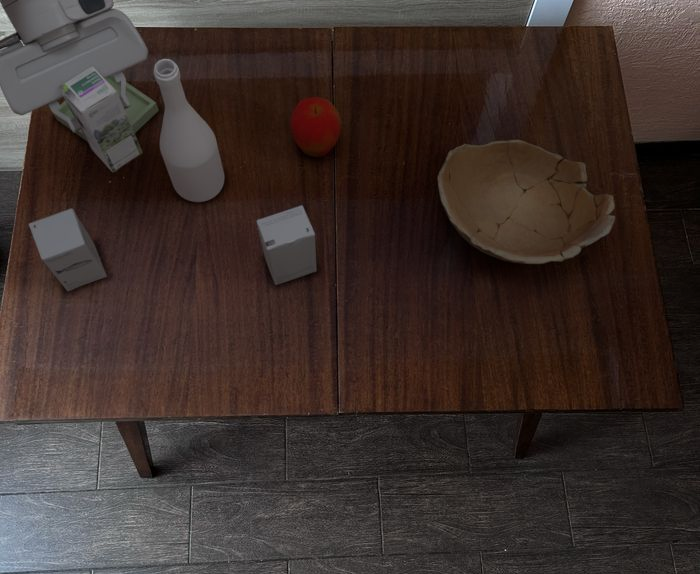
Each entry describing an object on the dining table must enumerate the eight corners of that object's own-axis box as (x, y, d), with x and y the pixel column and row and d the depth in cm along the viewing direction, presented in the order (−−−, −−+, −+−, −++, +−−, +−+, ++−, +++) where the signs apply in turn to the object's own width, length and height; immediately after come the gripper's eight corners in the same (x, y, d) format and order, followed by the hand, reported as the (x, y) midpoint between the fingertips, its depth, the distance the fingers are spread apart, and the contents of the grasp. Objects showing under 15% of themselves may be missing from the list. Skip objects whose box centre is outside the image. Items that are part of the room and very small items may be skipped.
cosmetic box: (306, 245, 125) (304, 201, 111) (317, 273, 124) (317, 233, 110) (262, 259, 124) (254, 217, 110) (273, 288, 122) (267, 249, 108)
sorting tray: (109, 157, 130) (105, 150, 127) (56, 119, 132) (52, 111, 130) (158, 110, 134) (156, 102, 131) (106, 74, 136) (103, 65, 134)
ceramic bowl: (562, 134, 133) (593, 94, 118) (601, 268, 129) (638, 244, 115) (411, 164, 131) (424, 127, 116) (447, 302, 127) (464, 282, 112)
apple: (344, 163, 131) (347, 123, 120) (298, 171, 130) (296, 132, 119) (333, 122, 134) (334, 79, 123) (287, 131, 133) (284, 88, 122)
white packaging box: (67, 293, 120) (39, 260, 109) (55, 257, 123) (26, 222, 111) (108, 278, 122) (85, 244, 110) (95, 243, 124) (71, 206, 112)
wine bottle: (166, 197, 127) (121, 84, 99) (184, 154, 130) (145, 34, 102) (215, 210, 127) (184, 101, 99) (232, 167, 130) (207, 49, 102)
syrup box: (122, 130, 108) (91, 62, 95) (144, 154, 107) (116, 89, 93) (91, 150, 107) (55, 84, 93) (113, 175, 105) (80, 111, 92)
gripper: (-29, 49, 88) (33, 152, 94) (119, -14, 92) (169, 89, 98) (-25, 51, 93) (34, 149, 100) (115, -8, 97) (162, 89, 103)
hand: (102, 119), depth 99 cm, fingers closed on syrup box, 6 cm apart
